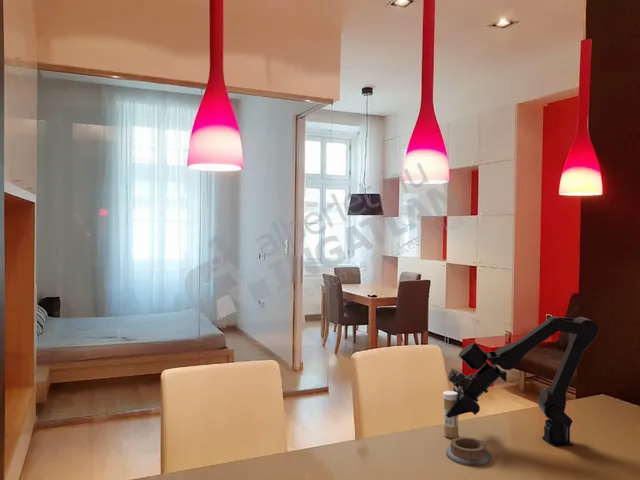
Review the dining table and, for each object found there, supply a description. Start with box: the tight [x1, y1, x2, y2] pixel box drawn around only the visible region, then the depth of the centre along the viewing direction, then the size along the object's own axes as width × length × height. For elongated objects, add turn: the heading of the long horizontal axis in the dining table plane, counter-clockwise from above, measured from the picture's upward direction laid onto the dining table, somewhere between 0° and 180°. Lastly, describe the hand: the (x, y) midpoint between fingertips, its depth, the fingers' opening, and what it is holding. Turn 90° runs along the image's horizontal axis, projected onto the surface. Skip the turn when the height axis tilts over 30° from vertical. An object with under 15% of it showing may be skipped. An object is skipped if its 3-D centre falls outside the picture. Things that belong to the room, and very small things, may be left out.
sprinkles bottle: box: [442, 390, 459, 439], centre depth 160 cm, size 5×5×14 cm
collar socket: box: [445, 436, 491, 466], centre depth 146 cm, size 12×12×4 cm
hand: (446, 414), depth 160 cm, fingers closed on sprinkles bottle, 4 cm apart
